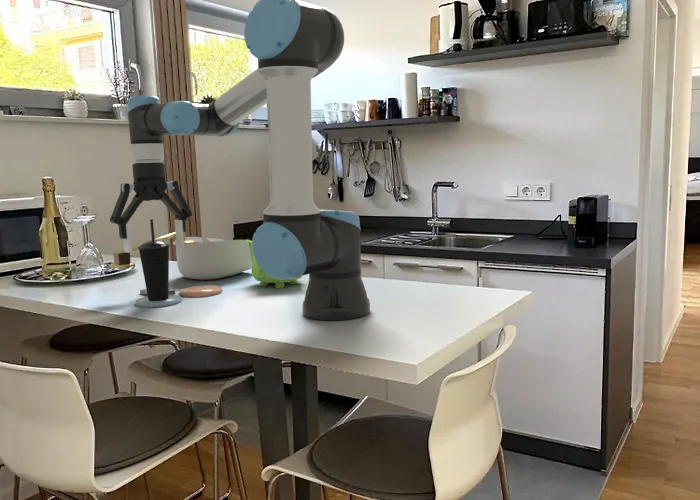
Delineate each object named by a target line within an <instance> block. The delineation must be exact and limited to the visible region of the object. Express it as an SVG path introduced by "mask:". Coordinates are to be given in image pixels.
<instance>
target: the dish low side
mask: <svg viewBox="0 0 700 500" xmlns="http://www.w3.org/2000/svg"><path fill="white" fill-rule="evenodd" d="M182 297H183V296H181V295H180V294H169V298H168V299H166V300H162V301H149V300H148V296H143V297H141V298H137V299H136V300H135V305H136V306H135V307H140V308H145V309H146V308H148V309H149V308H163V307H169V306H174V305H177V304H179V303H181V302H182V301H183V300H182V299H183V298H182Z"/></svg>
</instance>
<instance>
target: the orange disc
mask: <svg viewBox="0 0 700 500" xmlns="http://www.w3.org/2000/svg"><path fill="white" fill-rule="evenodd" d="M221 293H223V287H222V286H220V285H219V286H218V285H212V284H211V285H207V284H206V285H194V286H190V287H189V286H188V287H184V288H182V289H180V290H179V296H181V297H185V298H186V297H187V298H205V297H209V296H210V297H211V296H216V295H219V294H221Z"/></svg>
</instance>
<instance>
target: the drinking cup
mask: <svg viewBox="0 0 700 500" xmlns="http://www.w3.org/2000/svg"><path fill="white" fill-rule="evenodd" d="M149 221H150V222H149V223H150V236H151V240H147V241H145V242H142V243H143V244H142V243H140V244H141V245H139V244H138V245H139V246H138V249H139V250H138V252H139V257H140V262H141V267H142V272H143V279H144V284H145V289H147V295H148V300H149V301H162V300H166V299H168V298H169V289H170V287H169V286H170V285H169V284H170V282H169V279H170V277H169V275H170V264H169V263H170V262H169V261H170V257H169V256H170V250H169V249H170V246H171V244H170V242H166V241H165V240H164V241H160V240H155V239H156V238H155V237H156V236H155V228H154V227H155V226H154V219H149Z"/></svg>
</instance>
